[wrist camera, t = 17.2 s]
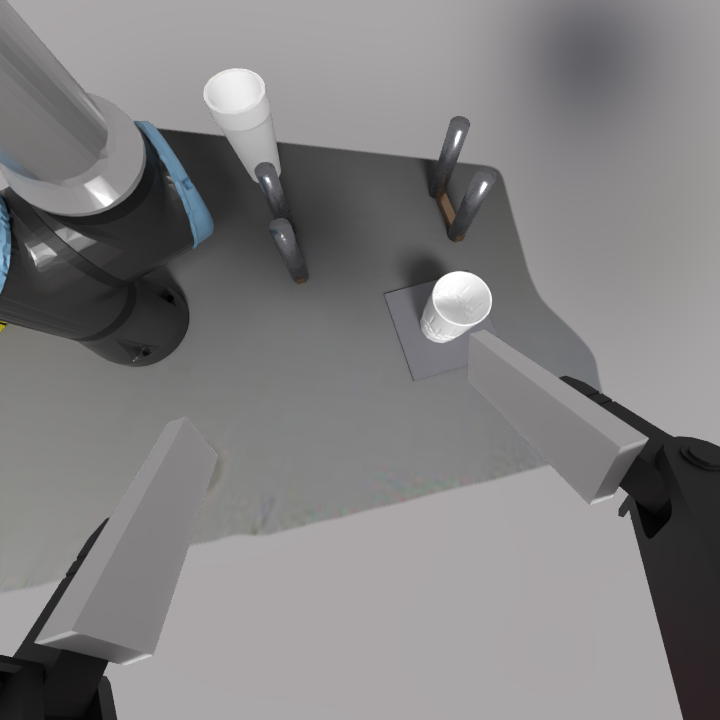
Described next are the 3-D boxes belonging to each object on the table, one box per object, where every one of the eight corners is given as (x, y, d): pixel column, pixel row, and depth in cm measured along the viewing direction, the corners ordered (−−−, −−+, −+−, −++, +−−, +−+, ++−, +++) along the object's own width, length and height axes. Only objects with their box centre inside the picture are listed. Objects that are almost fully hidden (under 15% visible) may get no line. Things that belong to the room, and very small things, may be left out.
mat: (413, 381, 42) (414, 380, 42) (384, 295, 45) (384, 294, 45) (503, 354, 43) (505, 353, 43) (468, 272, 46) (469, 270, 46)
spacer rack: (294, 285, 46) (271, 239, 34) (278, 225, 49) (252, 164, 37) (465, 239, 48) (499, 181, 36) (441, 184, 51) (465, 114, 39)
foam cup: (262, 198, 50) (228, 124, 37) (232, 171, 52) (190, 91, 39) (298, 170, 52) (277, 90, 39) (268, 145, 53) (239, 59, 40)
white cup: (424, 297, 45) (442, 263, 35) (467, 311, 44) (498, 281, 34) (410, 337, 43) (424, 313, 33) (455, 353, 43) (483, 334, 33)
